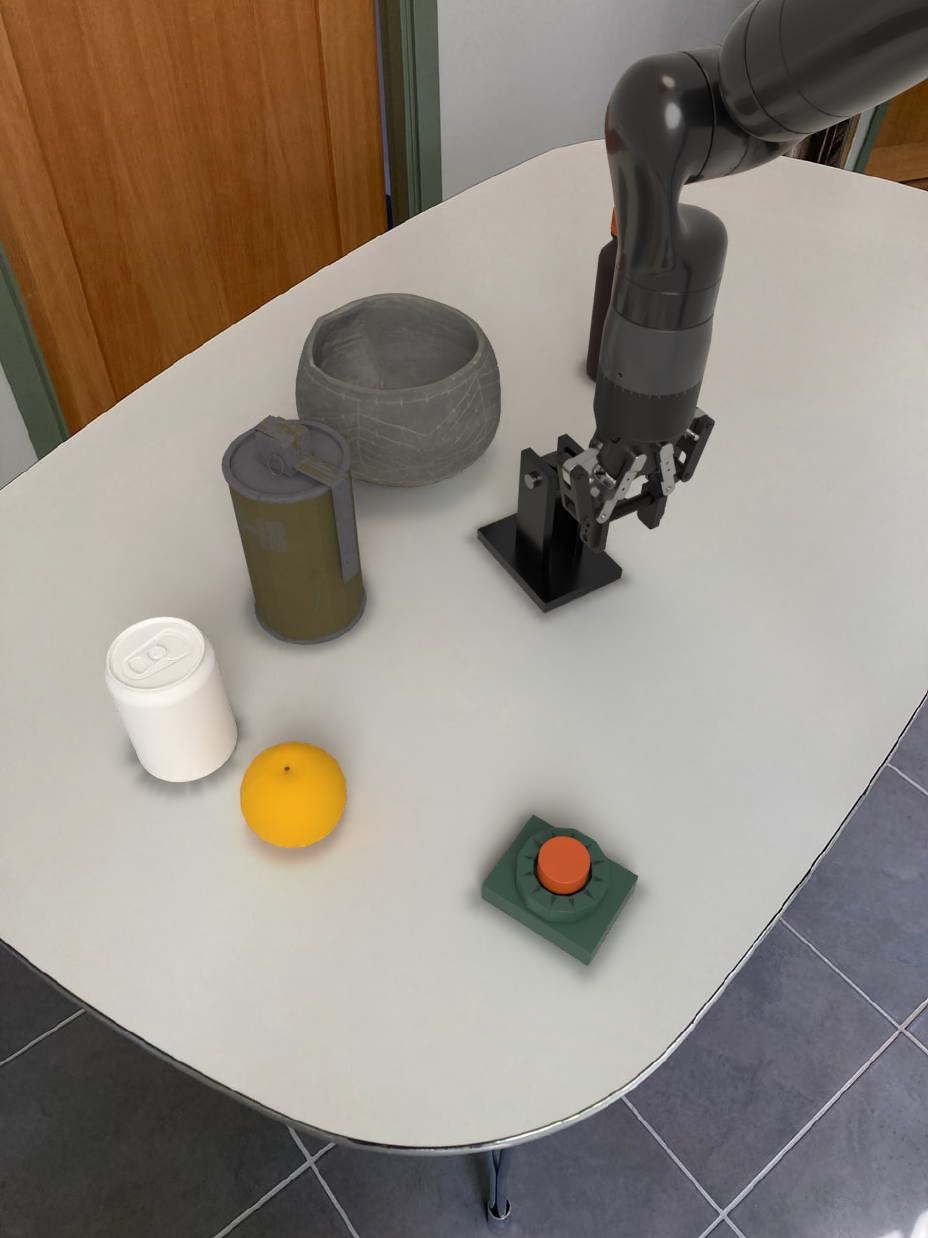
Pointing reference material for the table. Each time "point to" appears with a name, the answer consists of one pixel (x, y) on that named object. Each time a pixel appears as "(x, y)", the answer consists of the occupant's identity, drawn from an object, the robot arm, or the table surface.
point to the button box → (559, 916)
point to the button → (563, 865)
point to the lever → (621, 506)
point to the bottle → (601, 299)
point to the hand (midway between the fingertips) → (621, 533)
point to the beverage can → (171, 698)
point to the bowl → (402, 387)
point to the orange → (293, 794)
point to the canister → (297, 527)
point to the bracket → (547, 538)
